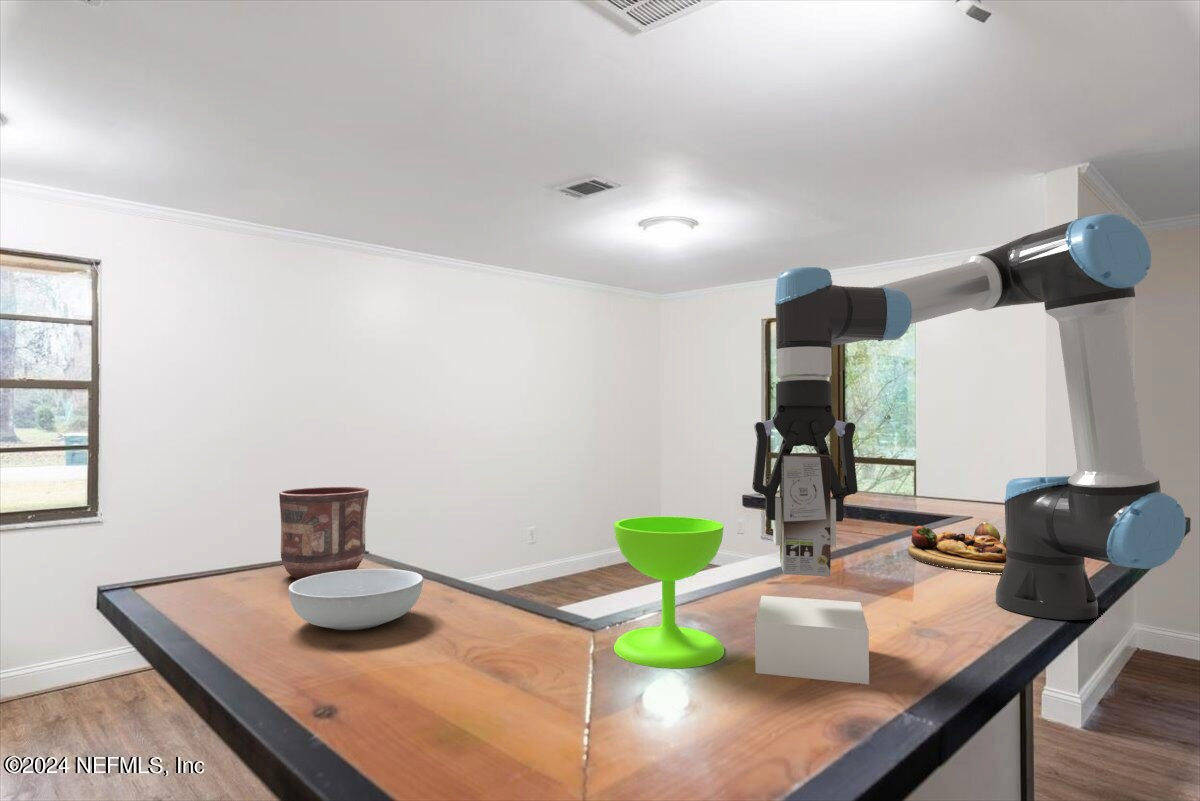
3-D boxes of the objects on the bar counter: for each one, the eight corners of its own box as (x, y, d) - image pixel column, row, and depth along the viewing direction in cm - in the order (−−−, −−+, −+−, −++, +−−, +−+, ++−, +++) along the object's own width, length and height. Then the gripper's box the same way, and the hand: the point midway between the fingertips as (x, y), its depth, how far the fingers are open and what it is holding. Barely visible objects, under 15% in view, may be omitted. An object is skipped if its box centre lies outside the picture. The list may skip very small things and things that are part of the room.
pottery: (349, 584, 140) (350, 494, 141) (262, 584, 141) (264, 494, 141) (378, 566, 158) (379, 486, 159) (301, 566, 158) (302, 486, 159)
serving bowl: (448, 613, 120) (448, 573, 120) (359, 651, 101) (359, 602, 101) (356, 600, 129) (356, 562, 129) (257, 632, 110) (258, 588, 110)
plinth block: (860, 650, 102) (860, 602, 102) (869, 686, 88) (868, 630, 88) (761, 642, 106) (761, 595, 106) (755, 675, 92) (755, 621, 92)
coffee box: (832, 577, 93) (832, 455, 93) (782, 575, 94) (782, 454, 94) (824, 563, 102) (824, 452, 102) (778, 561, 103) (778, 451, 103)
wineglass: (650, 676, 91) (650, 536, 91) (594, 640, 105) (594, 520, 106) (747, 656, 98) (747, 527, 99) (683, 626, 113) (683, 513, 113)
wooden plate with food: (889, 563, 162) (889, 528, 162) (928, 543, 186) (928, 512, 186) (1053, 588, 141) (1053, 547, 141) (1072, 561, 166) (1072, 526, 166)
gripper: (868, 380, 101) (869, 541, 100) (731, 381, 103) (731, 538, 103) (883, 378, 94) (884, 551, 93) (734, 378, 96) (734, 547, 95)
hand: (804, 544), depth 98 cm, fingers closed on coffee box, 7 cm apart
